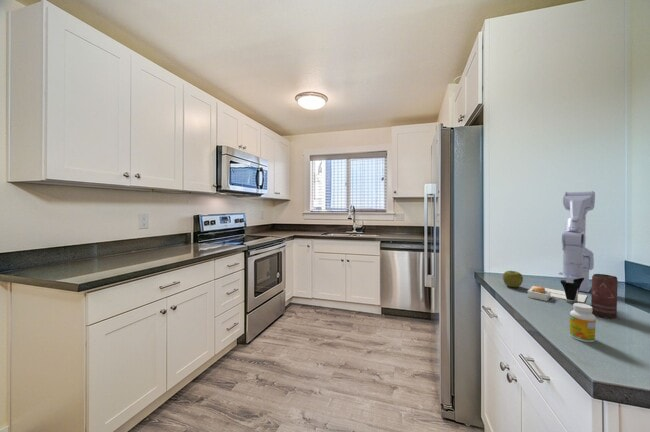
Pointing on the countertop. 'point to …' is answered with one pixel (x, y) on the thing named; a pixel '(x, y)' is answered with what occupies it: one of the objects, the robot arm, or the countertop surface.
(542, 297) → the button housing
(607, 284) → the can
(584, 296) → the paper
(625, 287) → the countertop surface
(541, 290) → the button
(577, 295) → the marker
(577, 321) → the supplement bottle
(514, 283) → the apple
